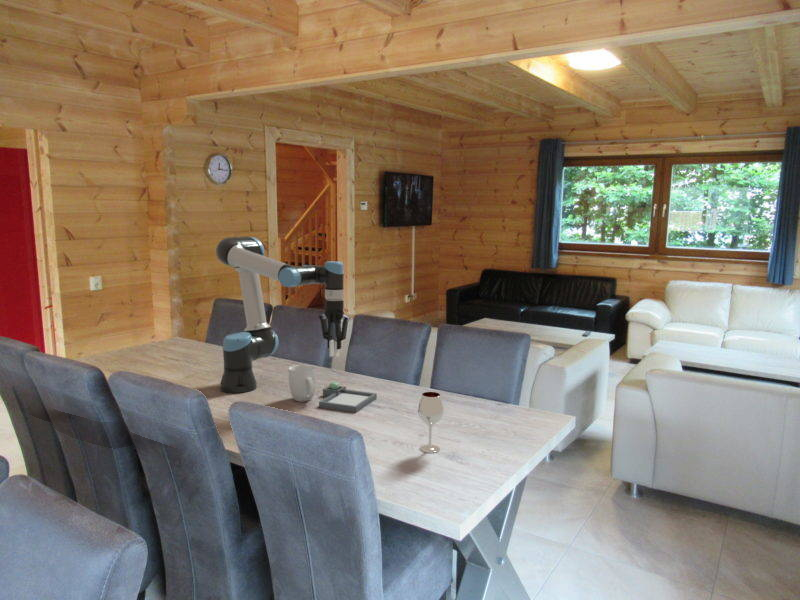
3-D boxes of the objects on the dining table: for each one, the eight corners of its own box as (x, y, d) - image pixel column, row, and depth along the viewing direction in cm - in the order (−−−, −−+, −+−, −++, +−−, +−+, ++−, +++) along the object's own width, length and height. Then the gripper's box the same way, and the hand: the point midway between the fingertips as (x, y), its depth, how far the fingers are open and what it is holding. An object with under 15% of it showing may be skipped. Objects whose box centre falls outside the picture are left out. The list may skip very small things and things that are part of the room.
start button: (327, 389, 240) (327, 384, 240) (332, 386, 244) (332, 381, 244) (336, 390, 239) (336, 385, 239) (341, 388, 243) (341, 382, 242)
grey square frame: (322, 396, 240) (322, 389, 240) (331, 391, 246) (331, 384, 246) (338, 398, 237) (338, 391, 237) (345, 393, 244) (345, 386, 243)
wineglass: (415, 444, 190) (416, 390, 187) (440, 444, 190) (441, 390, 188) (418, 454, 182) (419, 398, 179) (444, 453, 182) (446, 398, 180)
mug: (325, 403, 231) (325, 371, 229) (299, 407, 225) (299, 375, 223) (309, 393, 243) (309, 363, 241) (284, 397, 237) (284, 366, 235)
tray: (319, 407, 226) (318, 401, 226) (341, 393, 243) (341, 388, 243) (356, 412, 220) (356, 407, 220) (376, 398, 238) (376, 393, 237)
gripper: (313, 299, 236) (314, 356, 239) (346, 301, 230) (346, 360, 234) (322, 297, 243) (323, 352, 246) (354, 299, 237) (354, 356, 240)
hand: (334, 356), depth 240 cm, fingers open, 2 cm apart
